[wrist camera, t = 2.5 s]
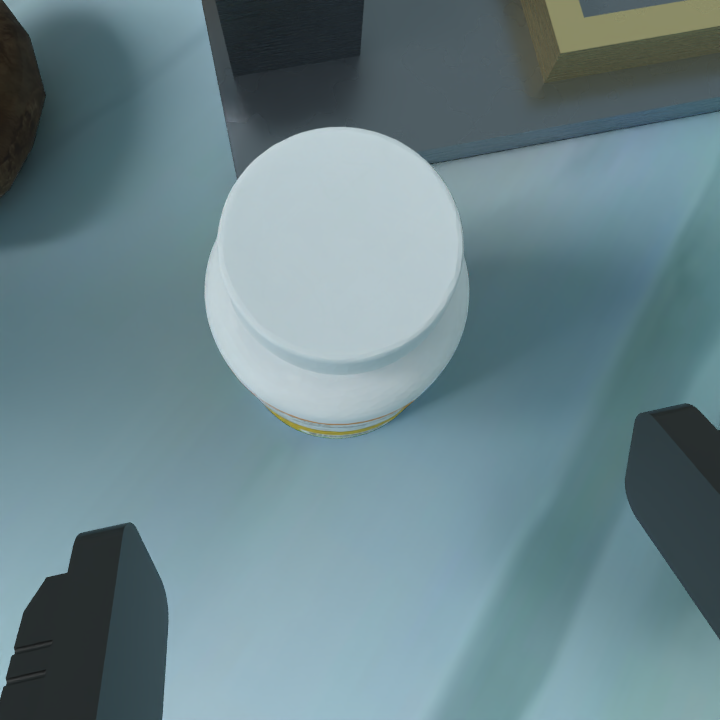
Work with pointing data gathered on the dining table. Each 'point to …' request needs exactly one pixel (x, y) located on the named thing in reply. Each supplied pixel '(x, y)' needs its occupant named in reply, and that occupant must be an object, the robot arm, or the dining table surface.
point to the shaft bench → (459, 69)
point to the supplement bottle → (338, 280)
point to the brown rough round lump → (17, 97)
